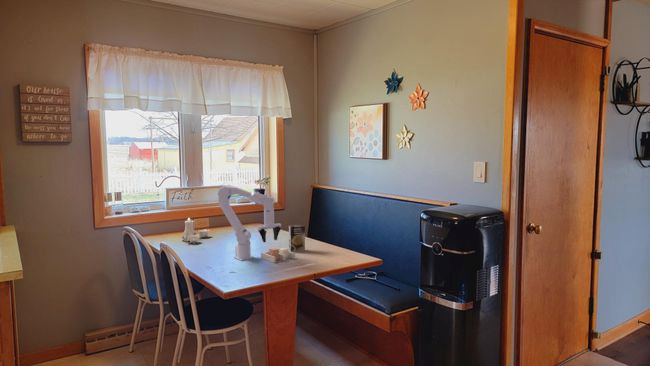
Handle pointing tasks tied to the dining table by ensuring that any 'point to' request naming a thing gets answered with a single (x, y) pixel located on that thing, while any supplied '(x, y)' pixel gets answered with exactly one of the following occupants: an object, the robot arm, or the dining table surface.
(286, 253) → the cream block
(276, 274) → the dining table surface
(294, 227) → the coffee box
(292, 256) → the slot rack
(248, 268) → the dining table surface
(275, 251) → the terracotta block
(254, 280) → the dining table surface
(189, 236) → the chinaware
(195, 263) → the dining table surface
